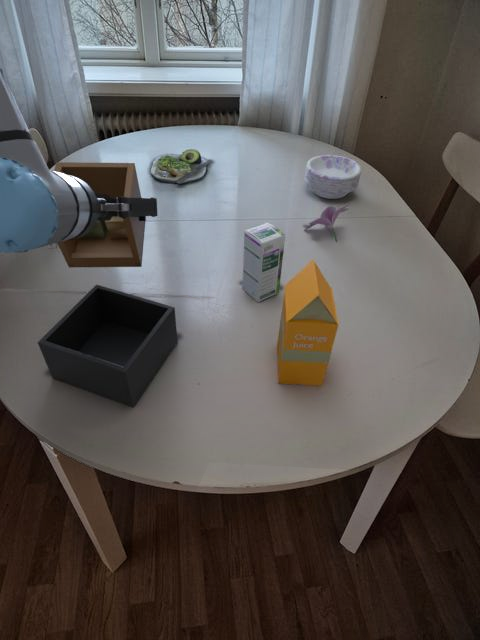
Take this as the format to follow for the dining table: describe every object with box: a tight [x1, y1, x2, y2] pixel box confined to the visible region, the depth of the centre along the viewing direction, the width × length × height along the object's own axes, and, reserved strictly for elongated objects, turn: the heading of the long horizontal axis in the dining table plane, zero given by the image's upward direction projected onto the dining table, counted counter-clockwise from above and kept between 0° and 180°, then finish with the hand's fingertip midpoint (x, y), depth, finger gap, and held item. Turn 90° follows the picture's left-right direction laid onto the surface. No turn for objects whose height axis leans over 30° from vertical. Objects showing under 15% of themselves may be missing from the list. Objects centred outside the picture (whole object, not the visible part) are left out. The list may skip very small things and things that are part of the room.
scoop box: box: [53, 161, 146, 269], centre depth 67 cm, size 12×11×12 cm
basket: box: [37, 283, 179, 408], centre depth 73 cm, size 16×16×9 cm
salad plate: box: [150, 149, 213, 185], centre depth 129 cm, size 19×18×5 cm
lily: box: [304, 203, 351, 243], centre depth 106 cm, size 12×12×10 cm
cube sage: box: [81, 221, 107, 238], centre depth 71 cm, size 4×4×4 cm
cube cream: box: [105, 217, 128, 238], centre depth 71 cm, size 4×4×4 cm
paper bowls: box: [304, 154, 362, 200], centre depth 122 cm, size 15×15×8 cm
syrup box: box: [241, 221, 286, 303], centre depth 86 cm, size 6×6×14 cm
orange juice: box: [276, 258, 339, 387], centre depth 69 cm, size 8×9×20 cm
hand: (103, 207), depth 69 cm, fingers closed on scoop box, 12 cm apart
